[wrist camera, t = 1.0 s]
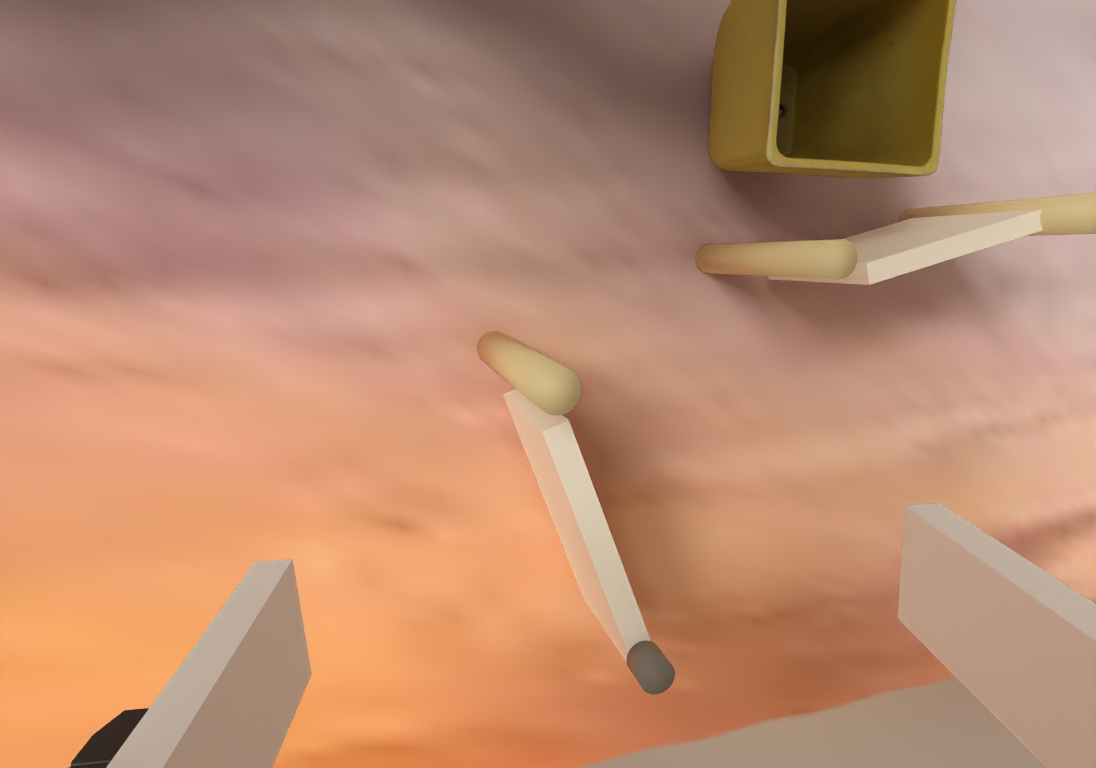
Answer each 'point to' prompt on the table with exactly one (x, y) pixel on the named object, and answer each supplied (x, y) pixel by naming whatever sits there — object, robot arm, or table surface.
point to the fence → (825, 269)
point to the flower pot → (830, 87)
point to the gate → (587, 538)
